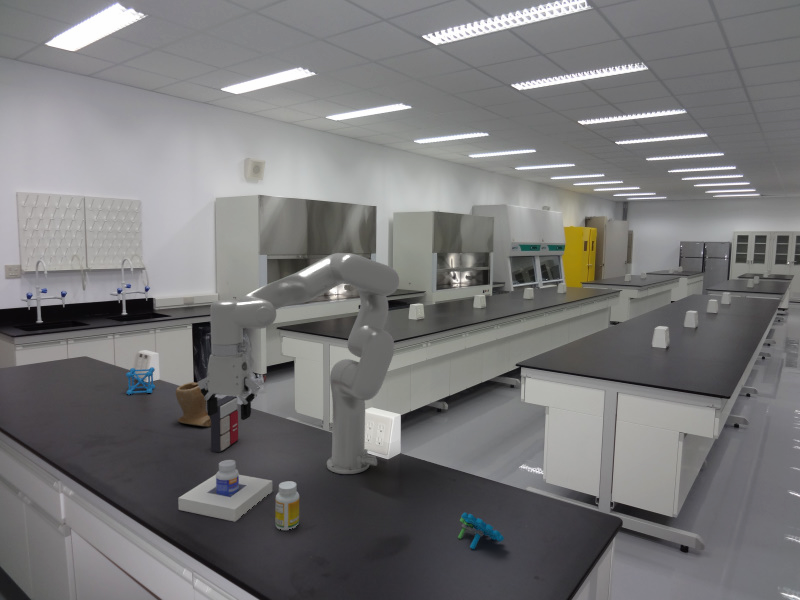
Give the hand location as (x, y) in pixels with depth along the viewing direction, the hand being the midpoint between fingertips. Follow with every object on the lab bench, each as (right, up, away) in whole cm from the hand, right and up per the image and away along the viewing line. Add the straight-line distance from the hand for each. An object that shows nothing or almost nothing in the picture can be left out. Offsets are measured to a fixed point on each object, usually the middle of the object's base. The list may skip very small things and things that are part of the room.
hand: (229, 416), depth 130 cm
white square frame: (0, -21, 0) cm, 21 cm away
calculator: (-13, -18, +35) cm, 41 cm away
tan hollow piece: (-30, -16, +55) cm, 64 cm away
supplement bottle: (+17, -23, -11) cm, 31 cm away
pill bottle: (0, -21, 0) cm, 21 cm away
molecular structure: (-70, -11, +94) cm, 117 cm away
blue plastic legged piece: (+61, -24, -17) cm, 68 cm away
